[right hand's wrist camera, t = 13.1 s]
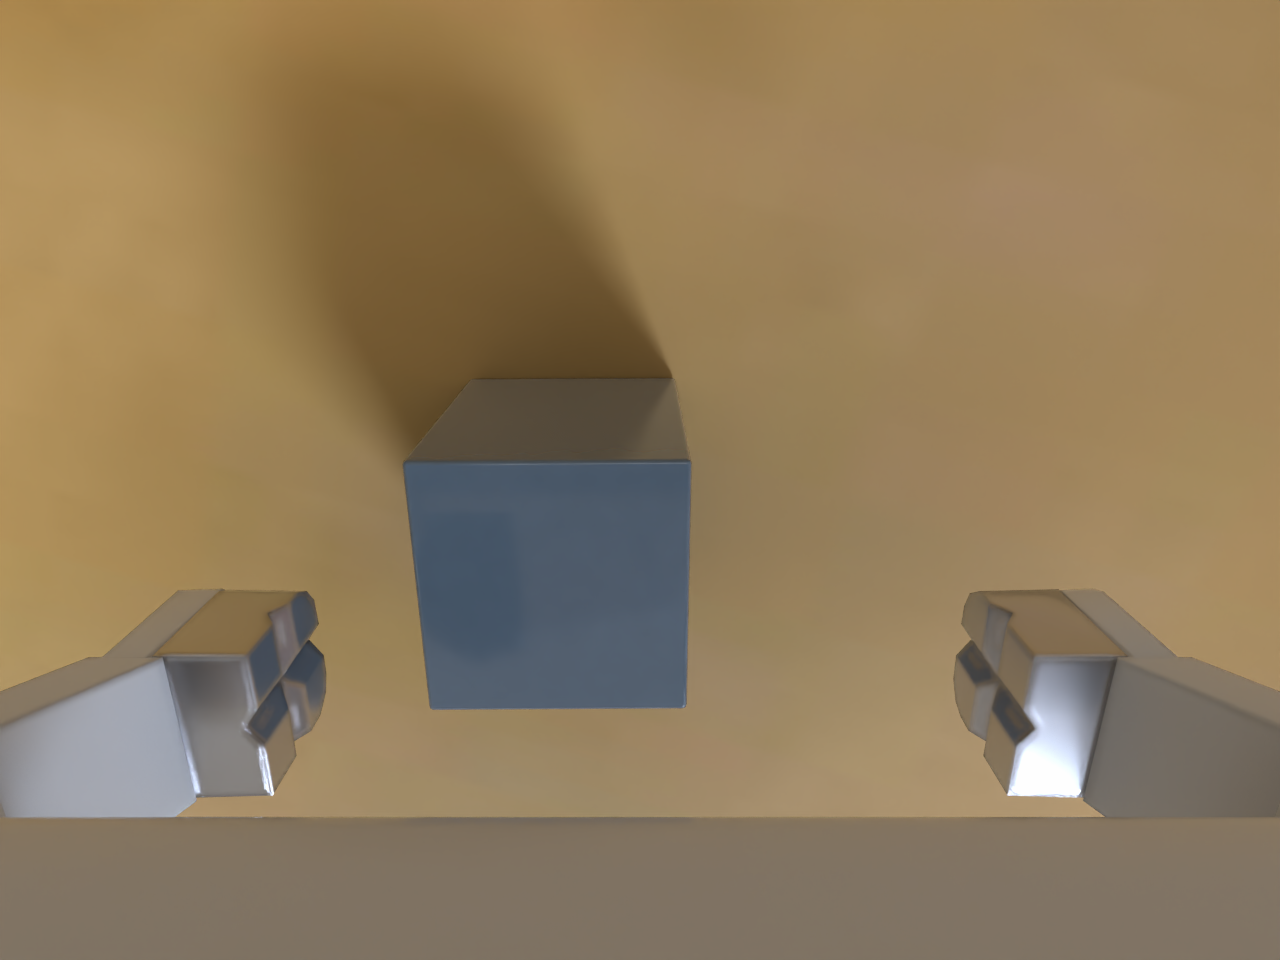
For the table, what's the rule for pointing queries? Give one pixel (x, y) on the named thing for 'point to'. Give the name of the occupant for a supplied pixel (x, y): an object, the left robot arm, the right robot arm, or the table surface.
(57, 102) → the table surface
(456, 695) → the cube
